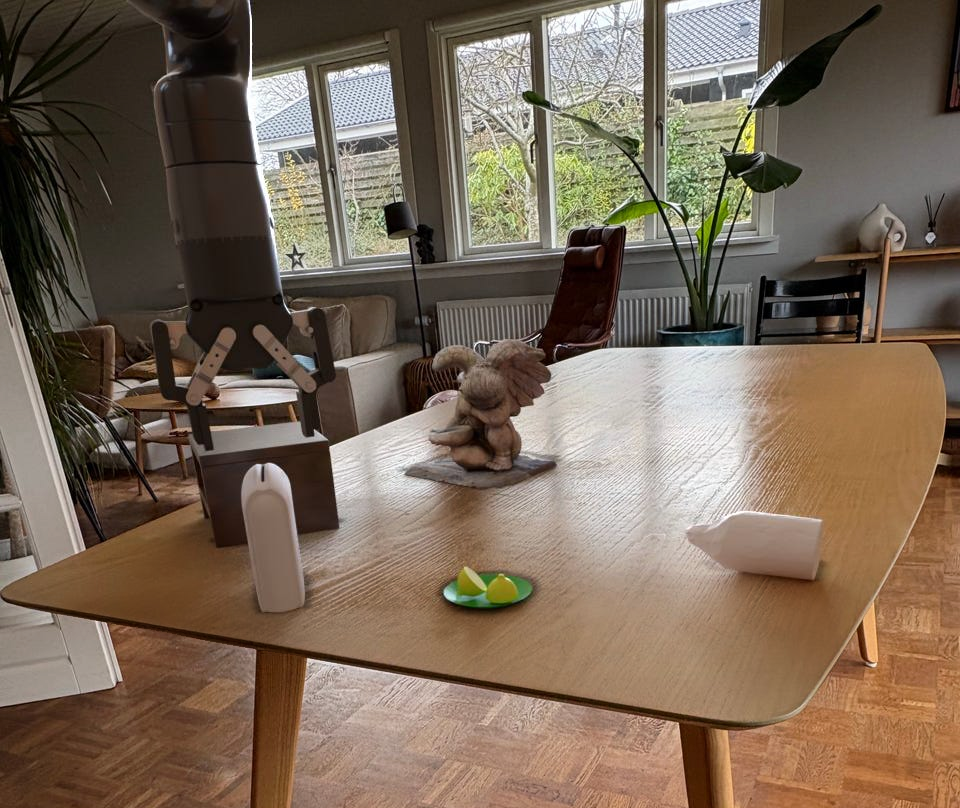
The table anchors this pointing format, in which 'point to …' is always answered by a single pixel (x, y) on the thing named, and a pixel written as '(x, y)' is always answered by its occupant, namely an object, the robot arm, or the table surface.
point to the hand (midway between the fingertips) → (259, 442)
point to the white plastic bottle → (762, 543)
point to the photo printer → (272, 538)
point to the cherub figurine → (488, 416)
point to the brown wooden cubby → (264, 445)
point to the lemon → (486, 590)
